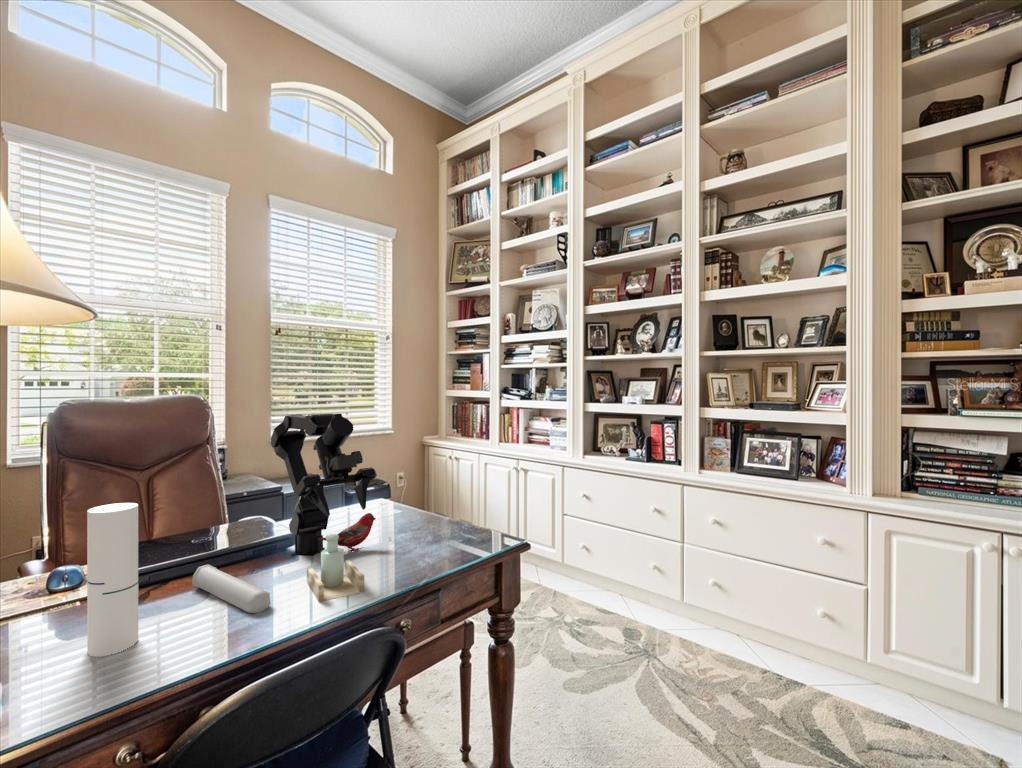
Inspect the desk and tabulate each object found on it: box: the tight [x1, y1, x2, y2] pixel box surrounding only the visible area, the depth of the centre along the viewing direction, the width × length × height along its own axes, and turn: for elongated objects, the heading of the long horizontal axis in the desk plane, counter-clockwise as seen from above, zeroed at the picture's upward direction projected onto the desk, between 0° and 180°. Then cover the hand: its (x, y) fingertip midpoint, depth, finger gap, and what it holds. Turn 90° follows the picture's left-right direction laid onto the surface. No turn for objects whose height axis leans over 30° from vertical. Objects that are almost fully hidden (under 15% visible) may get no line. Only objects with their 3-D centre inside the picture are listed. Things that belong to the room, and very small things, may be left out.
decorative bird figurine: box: [318, 512, 377, 553], centre depth 137 cm, size 3×18×10 cm, turn 138°
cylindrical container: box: [86, 502, 139, 658], centre depth 89 cm, size 7×7×25 cm
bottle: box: [320, 533, 345, 588], centre depth 115 cm, size 5×5×11 cm
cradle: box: [306, 559, 365, 603], centre depth 113 cm, size 12×10×4 cm
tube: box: [192, 563, 271, 614], centre depth 108 cm, size 5×5×25 cm
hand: (346, 512), depth 120 cm, fingers open, 9 cm apart
